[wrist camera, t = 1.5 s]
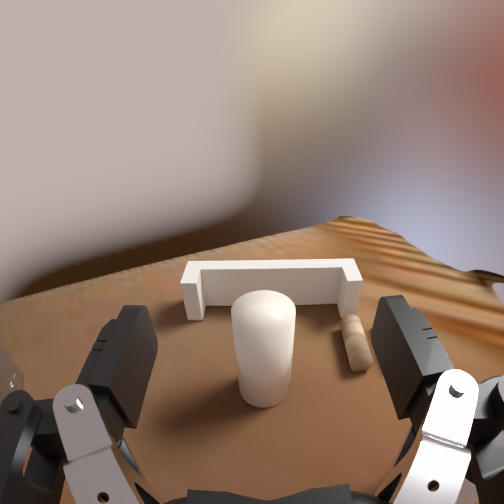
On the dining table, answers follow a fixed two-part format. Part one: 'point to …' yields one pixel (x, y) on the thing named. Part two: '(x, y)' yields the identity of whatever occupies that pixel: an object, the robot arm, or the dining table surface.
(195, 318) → the stop rail
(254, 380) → the white pillar candle
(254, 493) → the dining table surface
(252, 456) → the dining table surface
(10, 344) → the dining table surface
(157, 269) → the dining table surface
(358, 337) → the roller
